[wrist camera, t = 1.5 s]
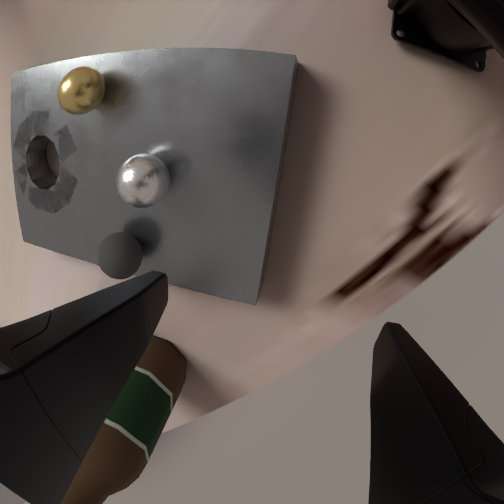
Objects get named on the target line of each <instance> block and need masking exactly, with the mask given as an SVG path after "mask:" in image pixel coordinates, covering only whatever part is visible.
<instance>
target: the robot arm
mask: <svg viewBox="0 0 504 504" xmlns="http://www.w3.org/2000/svg"><path fill="white" fill-rule="evenodd" d="M388 7H389V8H390V10H393V18H392V28H391V35H392V37H393V38H394V39H395V40H396V41H398V42H401V43H404V44H408V45H411V46H414V47H416V48H419V49H422V50H425V51H428V52H430V53H433V54H436V55H438V56H441V57H443V58H446V59H448V60H450V61H453V62H455V63H457V64H460V65H462V66H464V67H466V68H469V69H471V70H473V71H475V72H482V71H483V70H484V68H485V59H486V50H490V49H496V50H497V52H498V53H499V54H500V55H501V56H502V57H503V59H504V0H388ZM397 31H400V32H402V34H403V37H399V36H398V35H397V33H396V32H397ZM475 62H478V64H479V68H478V67H477V66H476V64H475ZM167 302H168V277H167V275H166V273H163V272H159V271H155V270H153V271H150V272H147V273H145V274H142V275H139V276H137V277H134V278H132V279H129V280H126V281H124V282H121V283H119V284H116V285H113V286H111V287H108V288H106V289H103V290H100V291H98V292H95V293H93V294H90V295H88V296H85V297H82V298H80V299H77V300H75V301H72V302H70V303H67V304H65V305H62V306H60V307H57V308H55V309H53V311H52V310H49V311H47V312H44V313H42V314H39V315H37V316H34V317H31V318H29V319H26V320H23V321H20V322H17V323H14V324H11V325H8V326H5V327H2V328H0V504H24V502H25V501H27V502H29V503H30V504H61V503H62V501H63V499H64V497H65V495H66V493H67V491H68V489H69V487H70V486H71V484H72V482H73V480H74V478H75V476H76V474H77V472H78V470H79V468H80V466H81V464H82V461H83V460H84V458H85V457H86V455H87V453H88V451H89V449H90V447H91V445H92V444H93V442H94V440H95V438H96V436H97V434H98V433H99V431H100V429H101V427H102V425H103V423H104V422H105V420H106V418H107V416H108V415H109V413H110V411H111V409H112V407H113V406H114V404H115V402H116V400H117V399H118V397H119V395H120V393H121V392H122V390H123V388H124V386H125V385H126V383H127V381H128V379H129V378H130V376H131V374H132V373H133V371H134V369H135V367H136V366H137V364H138V362H139V361H140V359H141V357H142V356H143V354H144V352H145V350H146V349H147V347H148V345H149V343H150V341H151V338H152V336H153V334H154V332H155V329H156V327H157V325H158V323H159V320H160V318H161V316H162V314H163V312H164V309H165V307H166V305H167ZM370 409H371V410H370V411H371V461H370V487H369V504H504V444H503V442H502V441H501V440H500V439H499V438H498V437H497V436H496V435H495V433H494V432H493V431H492V430H491V429H490V428H489V427H488V426H487V425H486V423H485V422H484V421H483V420H482V419H481V417H480V416H479V415H478V414H477V412H476V411H475V410H474V409H473V407H472V406H471V405H469V403H468V401H467V400H466V399H465V398H464V397H463V395H462V394H461V393H460V392H459V391H458V389H457V388H456V387H455V386H454V385H453V383H452V382H451V381H450V380H449V379H448V378H447V376H446V375H445V374H444V373H443V372H442V371H441V370H440V368H439V367H438V366H437V365H436V364H435V363H434V361H433V360H432V359H431V358H430V357H429V356H428V355H427V353H426V352H425V351H424V350H423V349H422V348H421V347H420V346H419V344H418V343H417V342H416V341H415V340H414V339H413V338H412V337H411V336H410V335H409V333H408V332H407V331H406V330H405V329H404V328H403V327H402V326H401V325H400V324H398V323H392V322H387V323H385V324H384V326H383V328H382V330H381V332H380V334H379V336H378V338H377V340H376V342H375V345H374V349H373V363H372V379H371V393H370Z"/></svg>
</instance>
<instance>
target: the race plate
mask: <svg viewBox="0 0 504 504" xmlns="http://www.w3.org/2000/svg"><path fill="white" fill-rule="evenodd" d="M81 66H89V67H93V68H95V69H97V70H98V71H99V72H100V73H101V74H102V76H103V77H104V80H105V84H106V89H105V94H104V97H103V99H102V101H101V102H100V104H99V105H98V106H97V107H96V108H95V109H94V110H92V111H90V112H88V113H86V114H82V115H74V114H70V113H68V112H66V111H65V110H64V109H63V108H62V107H61V106H60V104H59V101H58V97H57V91H58V86H59V84H60V82H61V80H62V78H63V77H64V76H65V75H66V74H67V73H68V72H69V71H71V70H72V69H75V68H77V67H81ZM297 67H298V60H297V58H296V55H290V54H282V53H274V52H265V51H255V50H242V49H225V48H162V49H145V50H132V51H122V52H113V53H105V54H98V55H92V56H85V57H79V58H74V59H69V60H64V61H59V62H54V63H50V64H45V65H41V66H37V67H33V68H29V69H26V70H22V71H19V72H15V73H13V74H12V90H11V146H12V162H13V174H14V184H15V192H16V200H17V207H18V213H19V219H20V225H21V231H22V236H23V241H24V242H27V243H30V244H33V245H36V246H39V247H43V248H46V249H49V250H52V251H55V252H58V253H61V254H65V255H68V256H71V257H74V258H78V259H81V260H84V261H88V262H91V263H94V264H98V265H99V263H98V259H97V253H98V248H99V246H100V244H101V242H102V241H103V239H104V238H106V237H107V236H108V235H110V234H112V233H116V232H124V233H127V234H130V235H131V236H133V237H134V238H135V239H136V240H137V241H138V243H139V244H140V246H141V249H142V262H141V265H140V267H139V269H138V270H137V272H136V273H135V274H133V275H136V276H139V275H142V274H145V273H147V272H150V271H153V270H155V271H159V272H163V273H166V275H167V277H168V284H170V285H174V286H178V287H182V288H185V289H189V290H193V291H197V292H201V293H206V294H210V295H214V296H218V297H222V298H226V299H231V300H235V301H239V302H243V303H248V304H252V305H256V303H257V300H258V297H259V294H260V291H261V288H262V283H263V278H264V272H265V266H266V260H267V255H268V249H269V243H270V237H271V231H272V225H273V219H274V213H275V207H276V201H277V195H278V189H279V183H280V177H281V171H282V164H283V158H284V152H285V146H286V139H287V133H288V127H289V120H290V114H291V107H292V100H293V94H294V87H295V81H296V74H297ZM48 139H50V140H51V141H52V142H53V143H54V145H55V148H56V150H57V153H58V155H59V167H60V172H59V175H58V178H56V177H55V176H54V175H53V174H52V173H51V172H50V170H49V168H48V165H47V163H46V153H45V148H46V145H47V142H48ZM138 154H150V155H153V156H156V157H157V158H159V159H160V160H161V161H162V162H163V163H164V164H165V165H166V167H167V169H168V172H169V177H170V183H169V188H168V191H167V193H166V195H165V196H164V197H163V199H162V200H161V201H160V202H158V203H157V204H155V205H153V206H151V207H147V208H137V207H133V206H131V205H129V204H127V203H126V202H125V201H124V200H123V199H122V198H121V196H120V195H119V193H118V190H117V186H116V179H117V174H118V171H119V169H120V167H121V166H122V164H123V163H124V162H125V161H126V160H127V159H129V158H130V157H132V156H134V155H138Z"/></svg>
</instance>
